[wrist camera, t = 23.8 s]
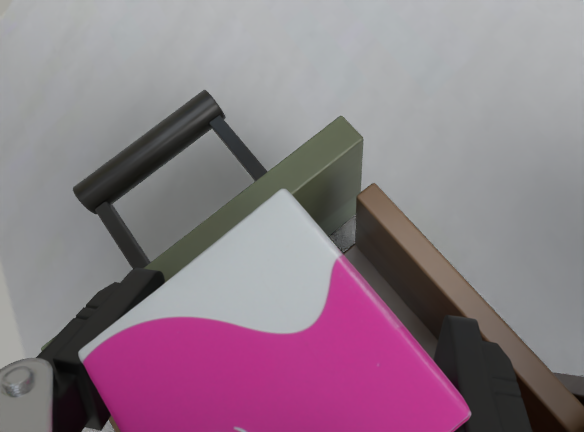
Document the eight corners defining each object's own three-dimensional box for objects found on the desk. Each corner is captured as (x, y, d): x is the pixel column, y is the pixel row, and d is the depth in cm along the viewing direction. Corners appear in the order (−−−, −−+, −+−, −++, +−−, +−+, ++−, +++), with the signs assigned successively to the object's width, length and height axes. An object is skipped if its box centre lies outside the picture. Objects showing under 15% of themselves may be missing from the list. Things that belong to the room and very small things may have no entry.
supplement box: (222, 346, 20) (62, 345, 9) (323, 265, 20) (292, 168, 9) (300, 463, 18) (221, 640, 7) (409, 370, 18) (494, 403, 8)
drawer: (94, 251, 24) (-36, 204, 16) (273, 114, 24) (236, 5, 17) (355, 673, 17) (357, 958, 9) (587, 464, 18) (772, 558, 10)
